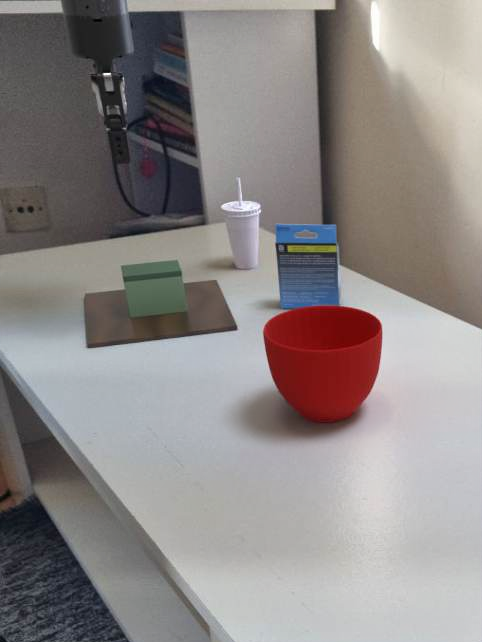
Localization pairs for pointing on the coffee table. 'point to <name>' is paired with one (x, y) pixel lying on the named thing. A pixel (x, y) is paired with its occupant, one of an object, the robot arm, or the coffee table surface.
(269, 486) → the coffee table surface
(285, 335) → the ceramic cup
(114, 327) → the walnut board
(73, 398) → the coffee table surface
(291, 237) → the label tape box
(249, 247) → the smoothie
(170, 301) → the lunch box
